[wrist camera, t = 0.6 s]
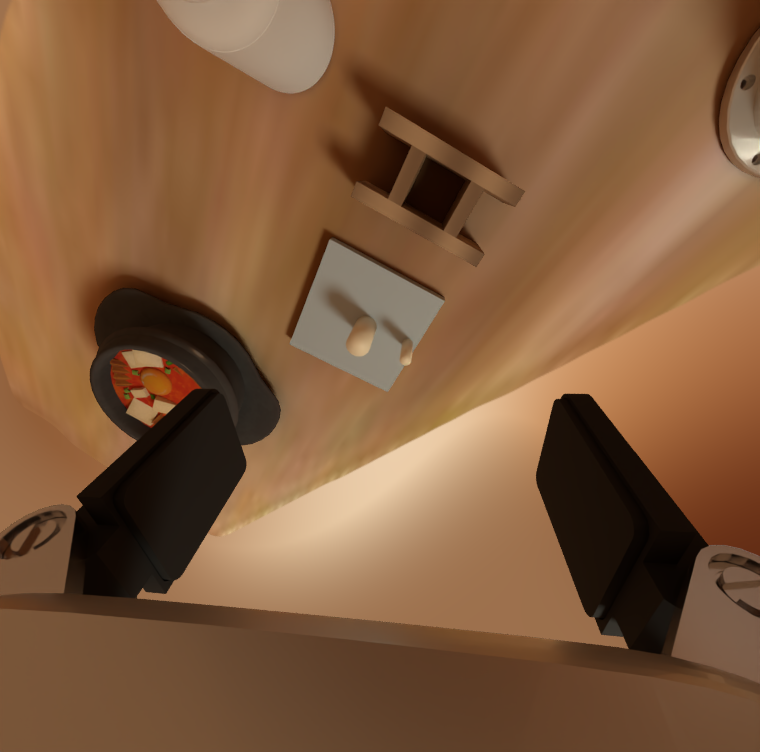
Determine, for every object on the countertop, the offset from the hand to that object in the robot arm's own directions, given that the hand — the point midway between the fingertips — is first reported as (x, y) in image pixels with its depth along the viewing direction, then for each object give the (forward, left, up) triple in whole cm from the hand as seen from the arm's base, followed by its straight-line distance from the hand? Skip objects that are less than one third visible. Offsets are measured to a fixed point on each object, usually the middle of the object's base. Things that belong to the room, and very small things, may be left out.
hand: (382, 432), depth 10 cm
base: (+9, -1, -28) cm, 29 cm away
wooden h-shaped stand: (-5, -1, -28) cm, 28 cm away
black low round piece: (+26, -18, -28) cm, 43 cm away
